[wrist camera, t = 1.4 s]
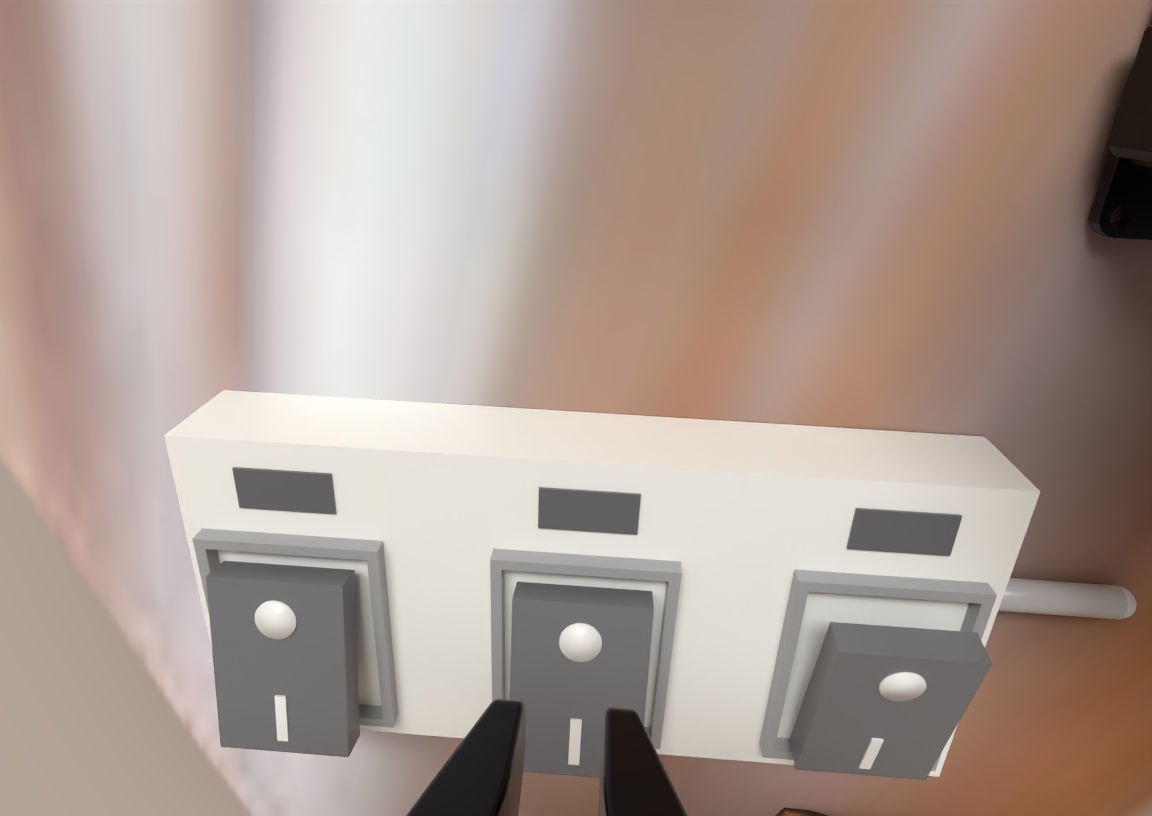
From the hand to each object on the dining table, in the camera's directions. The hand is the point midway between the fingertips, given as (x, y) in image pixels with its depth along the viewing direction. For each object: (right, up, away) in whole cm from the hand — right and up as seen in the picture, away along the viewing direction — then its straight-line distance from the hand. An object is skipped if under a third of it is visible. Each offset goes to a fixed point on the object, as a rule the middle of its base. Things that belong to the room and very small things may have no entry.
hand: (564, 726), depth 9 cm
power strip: (+3, -1, +13) cm, 14 cm away
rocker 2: (+8, -4, +10) cm, 13 cm away
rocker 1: (-8, -3, +10) cm, 13 cm away
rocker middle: (0, -3, +10) cm, 10 cm away
